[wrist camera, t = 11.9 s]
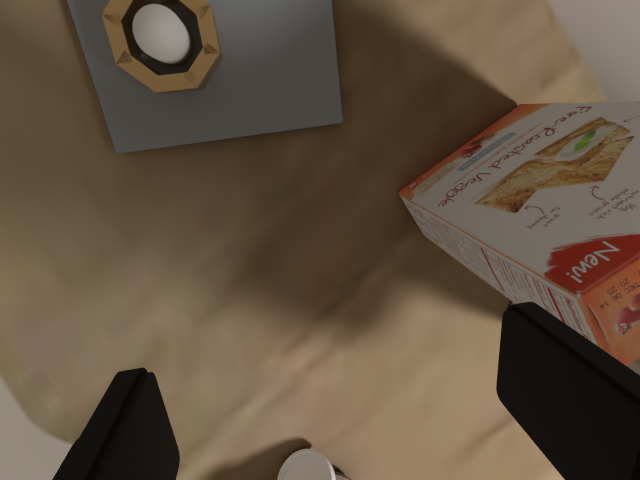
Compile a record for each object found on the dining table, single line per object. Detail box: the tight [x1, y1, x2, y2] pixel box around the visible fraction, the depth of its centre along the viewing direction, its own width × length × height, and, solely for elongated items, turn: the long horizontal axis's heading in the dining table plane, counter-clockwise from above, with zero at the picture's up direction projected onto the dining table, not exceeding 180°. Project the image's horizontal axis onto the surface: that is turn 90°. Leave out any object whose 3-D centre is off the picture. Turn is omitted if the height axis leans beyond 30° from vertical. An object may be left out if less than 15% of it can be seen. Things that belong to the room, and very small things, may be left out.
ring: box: [102, 0, 223, 94], centre depth 24 cm, size 7×7×3 cm
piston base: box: [67, 0, 343, 154], centre depth 25 cm, size 18×14×5 cm
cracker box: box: [398, 101, 640, 366], centre depth 25 cm, size 14×6×21 cm, turn 125°
